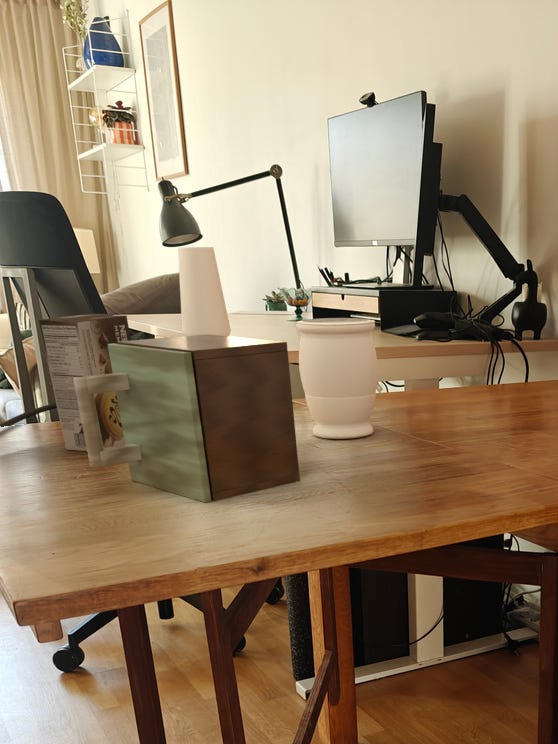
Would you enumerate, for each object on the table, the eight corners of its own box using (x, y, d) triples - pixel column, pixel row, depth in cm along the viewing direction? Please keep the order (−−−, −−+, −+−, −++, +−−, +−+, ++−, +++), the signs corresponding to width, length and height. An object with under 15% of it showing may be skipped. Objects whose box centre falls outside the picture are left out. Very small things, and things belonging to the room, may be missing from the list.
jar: (396, 431, 122) (391, 319, 116) (347, 444, 114) (339, 324, 108) (339, 424, 127) (332, 316, 121) (289, 436, 119) (278, 321, 113)
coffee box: (111, 436, 120) (89, 313, 113) (150, 439, 118) (129, 314, 111) (63, 450, 112) (35, 318, 106) (103, 453, 110) (77, 319, 104)
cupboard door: (157, 514, 84) (131, 358, 78) (85, 489, 93) (56, 348, 87) (211, 501, 88) (191, 352, 82) (137, 479, 97) (114, 343, 91)
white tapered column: (194, 427, 126) (168, 247, 116) (196, 419, 132) (172, 247, 122) (241, 425, 128) (220, 247, 118) (241, 417, 134) (221, 247, 124)
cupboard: (214, 502, 88) (193, 350, 82) (140, 479, 97) (116, 341, 91) (300, 482, 96) (287, 341, 90) (224, 463, 105) (207, 334, 99)
